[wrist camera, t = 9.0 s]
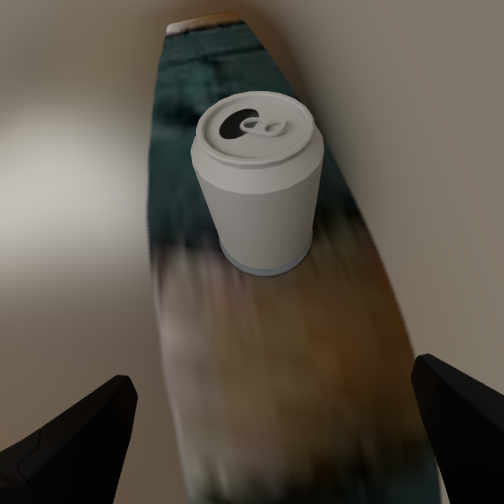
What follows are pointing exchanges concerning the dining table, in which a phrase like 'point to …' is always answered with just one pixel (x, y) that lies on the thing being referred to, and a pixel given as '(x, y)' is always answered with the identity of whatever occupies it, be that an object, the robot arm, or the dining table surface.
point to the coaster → (268, 272)
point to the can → (260, 175)
